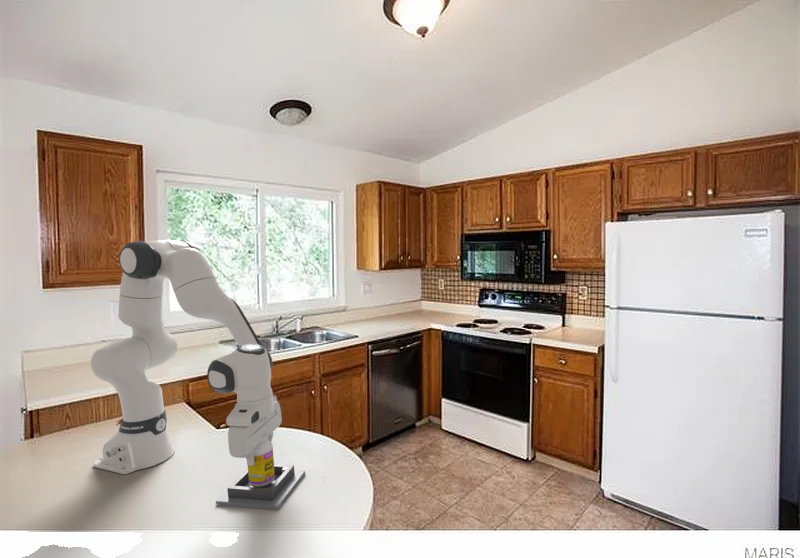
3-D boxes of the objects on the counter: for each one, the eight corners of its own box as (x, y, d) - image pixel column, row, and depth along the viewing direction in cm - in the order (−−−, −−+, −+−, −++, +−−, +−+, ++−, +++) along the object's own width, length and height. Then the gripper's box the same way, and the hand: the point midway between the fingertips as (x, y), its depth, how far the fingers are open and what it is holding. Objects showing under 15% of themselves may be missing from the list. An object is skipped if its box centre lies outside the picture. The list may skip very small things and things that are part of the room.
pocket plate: (216, 504, 106) (214, 491, 106) (250, 470, 122) (249, 459, 121) (277, 510, 102) (276, 496, 102) (305, 474, 118) (304, 462, 118)
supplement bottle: (267, 489, 108) (263, 441, 107) (243, 487, 109) (240, 440, 108) (279, 474, 114) (276, 429, 113) (257, 473, 116) (254, 428, 115)
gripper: (265, 391, 121) (268, 437, 122) (221, 422, 101) (226, 476, 102) (285, 392, 120) (288, 438, 121) (245, 423, 100) (249, 478, 101)
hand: (259, 456), depth 111 cm, fingers closed on supplement bottle, 6 cm apart
